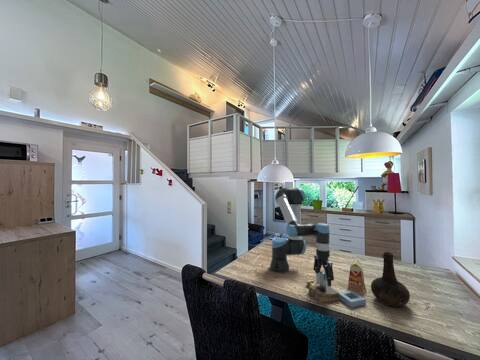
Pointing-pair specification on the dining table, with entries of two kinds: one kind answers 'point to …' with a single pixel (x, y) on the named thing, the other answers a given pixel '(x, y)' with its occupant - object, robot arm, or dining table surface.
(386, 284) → the glass bottle
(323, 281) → the grey round-ended peg
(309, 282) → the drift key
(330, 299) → the socket block
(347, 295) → the square frame
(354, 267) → the milk carton
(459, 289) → the dining table surface
